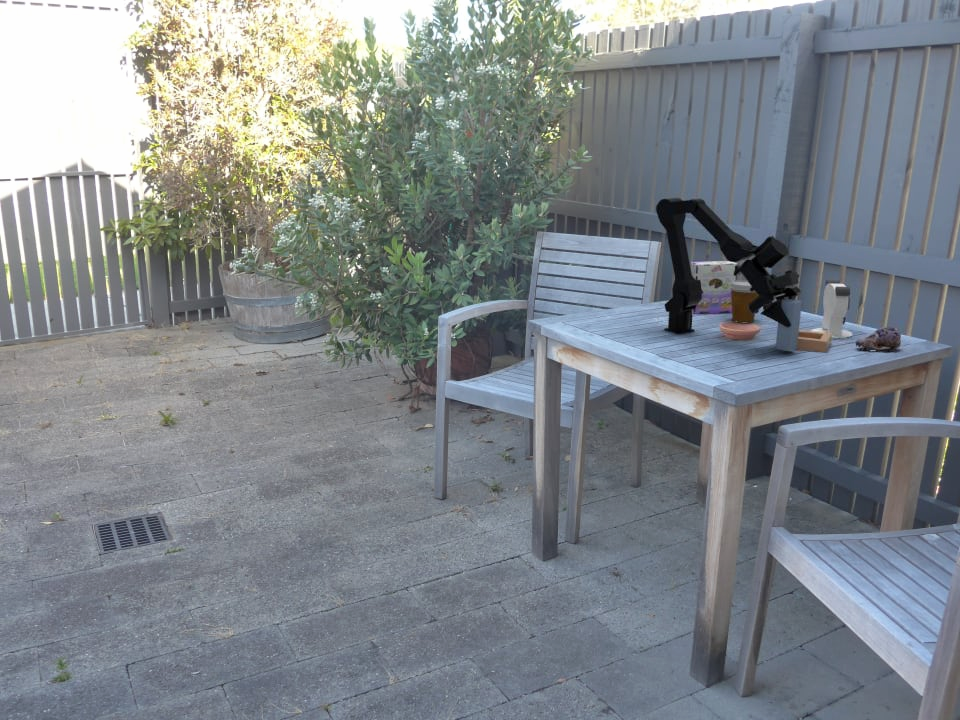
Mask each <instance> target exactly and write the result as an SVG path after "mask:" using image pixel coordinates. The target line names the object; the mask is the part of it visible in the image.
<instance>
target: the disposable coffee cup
mask: <svg viewBox="0 0 960 720" xmlns="http://www.w3.org/2000/svg"><path fill="white" fill-rule="evenodd" d="M750 288H751V285H750V284H749V282H748V281H747V280H736V281H734V282H732V283H731V286H730V290H731V300H732V313H731V315H732V316H731V317H732V318H731V319H732V322H734V321H737V322H747V323H746V324H751V323H754V320H755V316H756V314H753V315H752V314H751V312H750V311H749V310H748V306H749V304H750V303H751V302H752V301H753V300H755V299H756V298H757V297H758V295H757V294H756V292H755V291H754V292H751V291H750ZM737 322H736V323H737Z"/></svg>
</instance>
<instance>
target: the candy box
mask: <svg viewBox="0 0 960 720" xmlns="http://www.w3.org/2000/svg"><path fill="white" fill-rule="evenodd" d="M737 265H739V264H738V262H730V261H728V260H722V261H720V260H716V261H712V260H711V261H709V260H708V261H691V263H690V268H691V273H692V276H693V277H694V279H695V280H700V281H701V288H702V291H703V293H702V299H701V300H700V302H699V303H698V304H697V306H696V309H695V310H692V315H700V314H701V315H703V314H704V315H705V314H707V315H709V314H730V313H731V314H732V300H731V290H730V286H731V283H732V282H734V281H738V280H737V278H738V275H737V276H734V275H733V274H734V270H735V266H737Z"/></svg>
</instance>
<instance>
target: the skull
mask: <svg viewBox="0 0 960 720" xmlns="http://www.w3.org/2000/svg"><path fill="white" fill-rule="evenodd" d="M901 336H902V334H901V332H900V330H899V329H898V328H896V327H893V326H891V327H879V328H877V329H876V330H874V332H873V333H871V334H870V335H869V336H867V337H866V336H865V337H863V338H860V339H857V340H856V342H855V347H857V348H860V347H861V351H863V350H864V349H866V350H877V351H881V350H882V351H883V350H887V351H889V350H893V351H895V350H897V349H898V348H899V347H901V344H902V343H901ZM894 349H895V350H894Z"/></svg>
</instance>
